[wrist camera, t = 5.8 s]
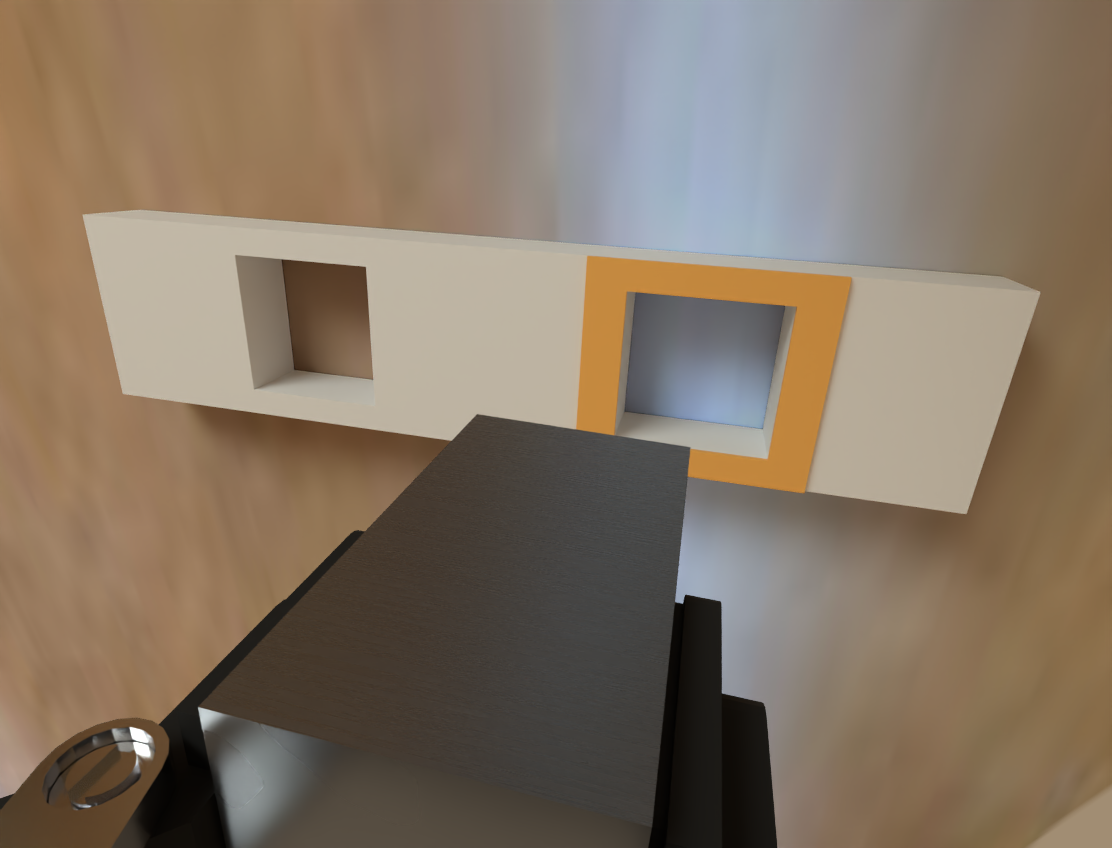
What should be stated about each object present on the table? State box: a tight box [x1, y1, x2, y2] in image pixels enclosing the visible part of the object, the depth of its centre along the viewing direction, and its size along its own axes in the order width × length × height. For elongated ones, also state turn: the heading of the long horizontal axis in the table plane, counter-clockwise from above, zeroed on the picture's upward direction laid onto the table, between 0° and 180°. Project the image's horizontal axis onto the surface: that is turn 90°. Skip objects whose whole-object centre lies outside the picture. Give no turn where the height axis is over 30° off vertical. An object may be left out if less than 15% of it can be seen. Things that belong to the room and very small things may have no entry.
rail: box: [83, 210, 1041, 514], centre depth 27 cm, size 8×36×3 cm, turn 87°
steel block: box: [198, 414, 691, 848], centre depth 10 cm, size 4×4×8 cm
